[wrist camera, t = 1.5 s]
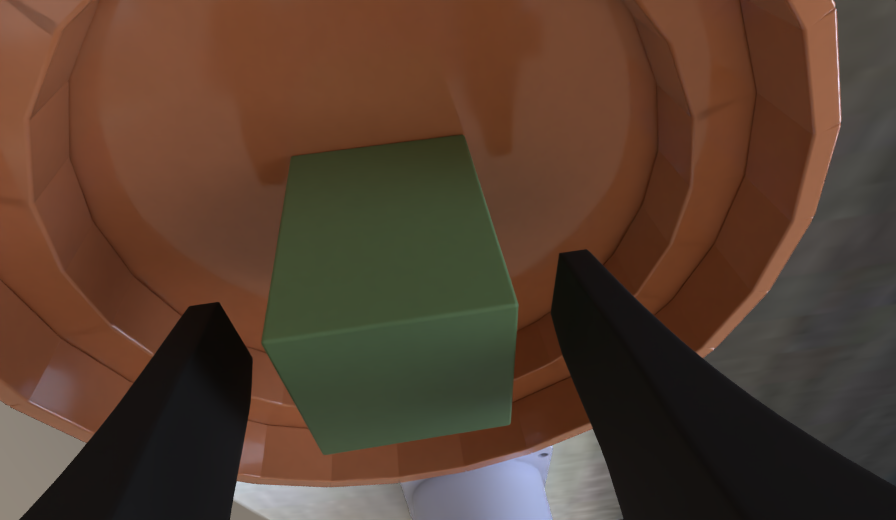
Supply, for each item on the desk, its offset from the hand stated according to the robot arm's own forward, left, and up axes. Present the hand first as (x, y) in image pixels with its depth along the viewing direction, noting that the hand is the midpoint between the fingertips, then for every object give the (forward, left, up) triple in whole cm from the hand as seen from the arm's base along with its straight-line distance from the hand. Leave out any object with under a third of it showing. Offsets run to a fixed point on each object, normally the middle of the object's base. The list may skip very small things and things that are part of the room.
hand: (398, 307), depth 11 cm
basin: (0, 0, -4) cm, 4 cm away
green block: (0, 0, -3) cm, 3 cm away
